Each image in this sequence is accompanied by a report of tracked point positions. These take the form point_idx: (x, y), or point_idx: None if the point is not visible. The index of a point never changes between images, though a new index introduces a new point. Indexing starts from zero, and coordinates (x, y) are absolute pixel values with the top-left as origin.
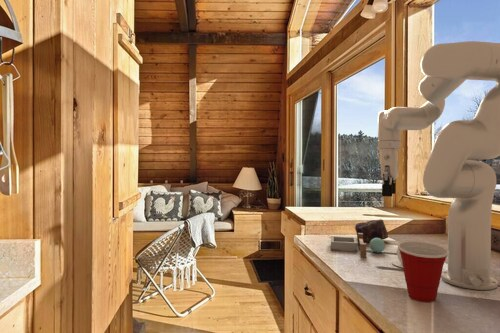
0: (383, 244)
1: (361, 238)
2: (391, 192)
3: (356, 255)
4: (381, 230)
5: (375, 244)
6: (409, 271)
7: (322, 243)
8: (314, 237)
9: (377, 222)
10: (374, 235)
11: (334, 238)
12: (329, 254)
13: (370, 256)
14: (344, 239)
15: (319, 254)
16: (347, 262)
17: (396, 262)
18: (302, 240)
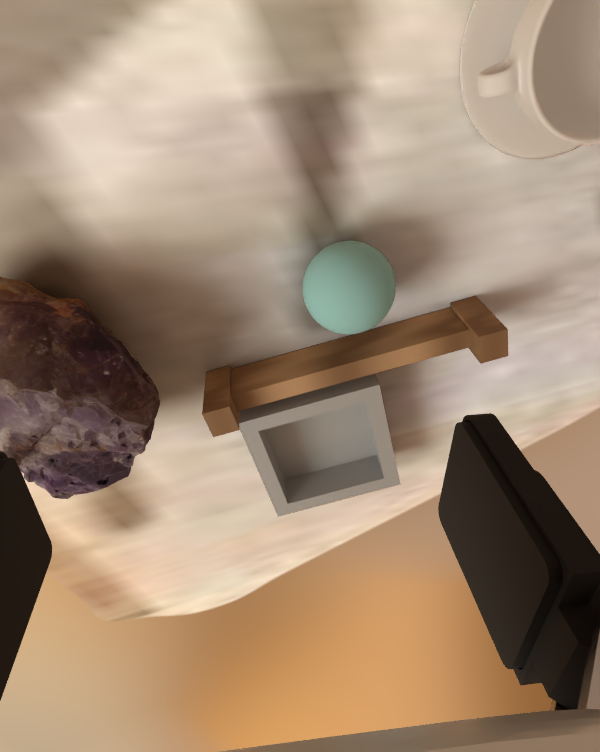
0: (372, 253)
1: (250, 395)
2: (520, 457)
3: None
4: (79, 332)
5: (394, 295)
6: None
7: None
8: (182, 570)
9: (79, 391)
10: (123, 352)
11: (286, 496)
12: None
13: (436, 284)
14: (271, 459)
15: None
16: (570, 348)
17: (542, 131)
18: (267, 580)
